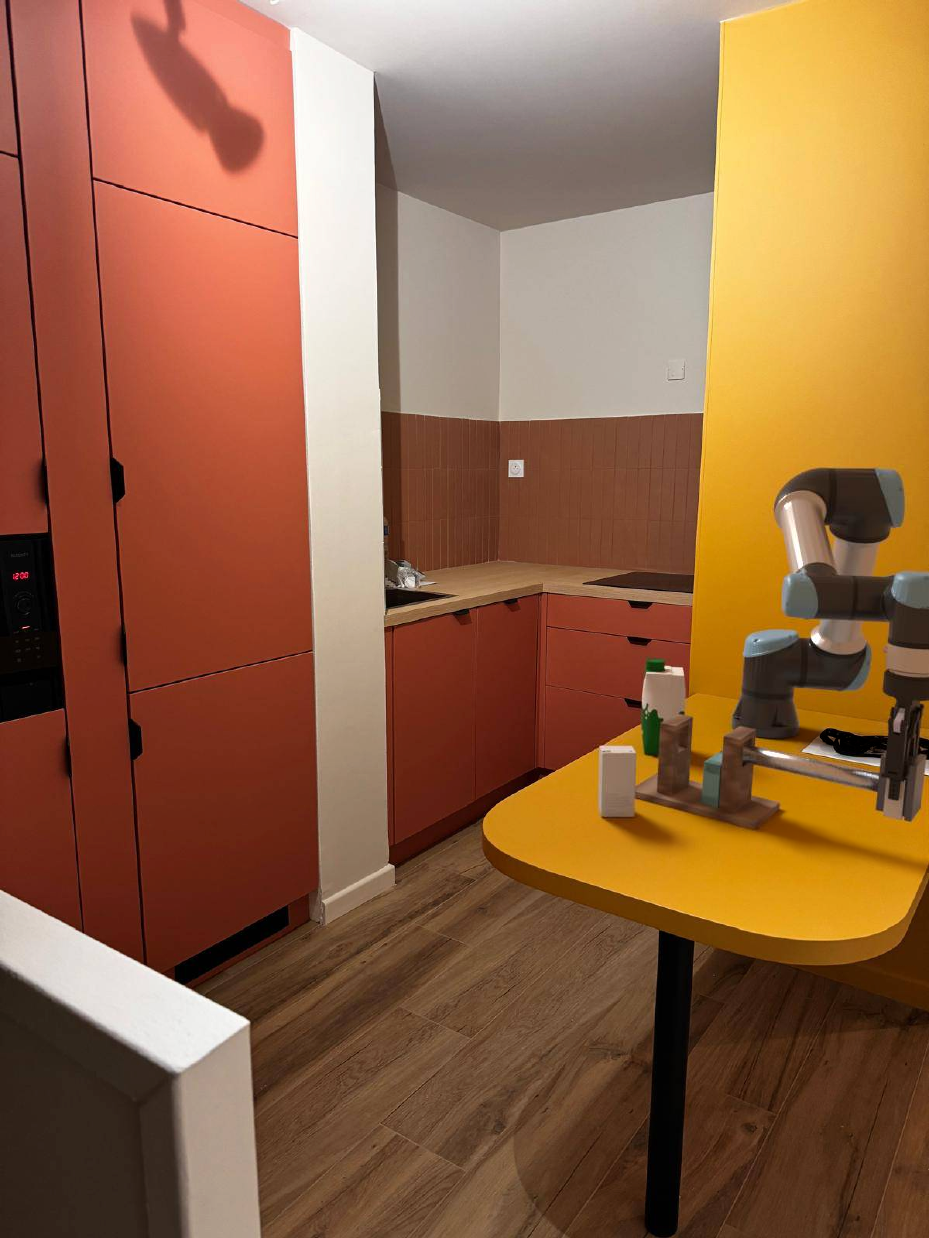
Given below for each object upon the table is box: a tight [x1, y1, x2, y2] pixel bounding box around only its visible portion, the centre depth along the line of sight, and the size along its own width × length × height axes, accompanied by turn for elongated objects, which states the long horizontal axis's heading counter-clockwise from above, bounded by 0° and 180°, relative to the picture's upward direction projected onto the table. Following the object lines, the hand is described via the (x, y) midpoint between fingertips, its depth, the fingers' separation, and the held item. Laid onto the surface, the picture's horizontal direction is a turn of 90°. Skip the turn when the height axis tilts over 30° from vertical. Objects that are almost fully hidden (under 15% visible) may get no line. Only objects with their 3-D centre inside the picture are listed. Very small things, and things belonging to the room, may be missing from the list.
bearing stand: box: [635, 714, 781, 831], centre depth 159 cm, size 24×12×15 cm, turn 52°
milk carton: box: [640, 657, 687, 756], centre depth 187 cm, size 9×9×20 cm
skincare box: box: [597, 745, 637, 818], centre depth 154 cm, size 6×4×12 cm
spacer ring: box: [701, 750, 723, 808], centre depth 158 cm, size 3×8×8 cm, turn 142°
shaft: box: [742, 744, 927, 823], centre depth 146 cm, size 30×7×9 cm, turn 52°
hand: (896, 812), depth 140 cm, fingers closed on shaft, 4 cm apart
